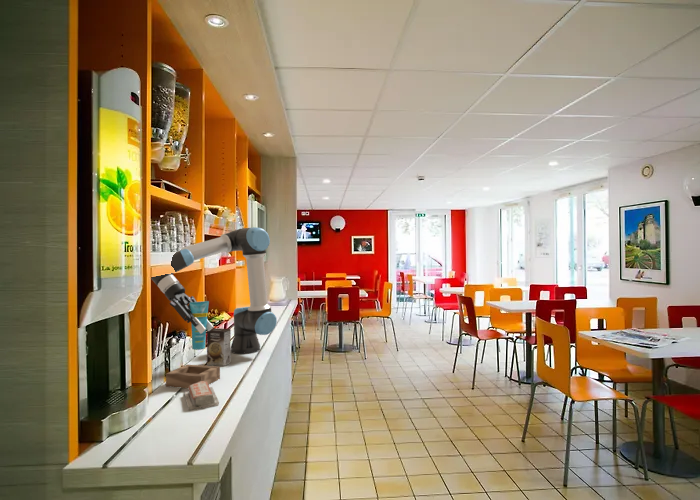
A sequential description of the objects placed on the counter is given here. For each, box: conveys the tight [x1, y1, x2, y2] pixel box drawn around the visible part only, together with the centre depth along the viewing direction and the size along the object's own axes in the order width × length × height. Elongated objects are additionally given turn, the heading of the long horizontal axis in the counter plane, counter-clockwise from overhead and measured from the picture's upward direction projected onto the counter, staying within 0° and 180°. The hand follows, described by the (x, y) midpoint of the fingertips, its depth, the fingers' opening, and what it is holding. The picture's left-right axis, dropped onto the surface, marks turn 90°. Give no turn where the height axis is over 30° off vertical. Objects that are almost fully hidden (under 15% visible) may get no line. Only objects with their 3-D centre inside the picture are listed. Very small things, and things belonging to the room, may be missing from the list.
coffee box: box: [206, 327, 232, 367], centre depth 195 cm, size 9×6×16 cm
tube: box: [190, 300, 210, 351], centre depth 168 cm, size 7×5×19 cm, turn 124°
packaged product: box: [184, 381, 220, 411], centre depth 148 cm, size 18×5×10 cm
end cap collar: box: [165, 364, 221, 389], centre depth 167 cm, size 14×16×5 cm
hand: (207, 330), depth 167 cm, fingers closed on tube, 5 cm apart
